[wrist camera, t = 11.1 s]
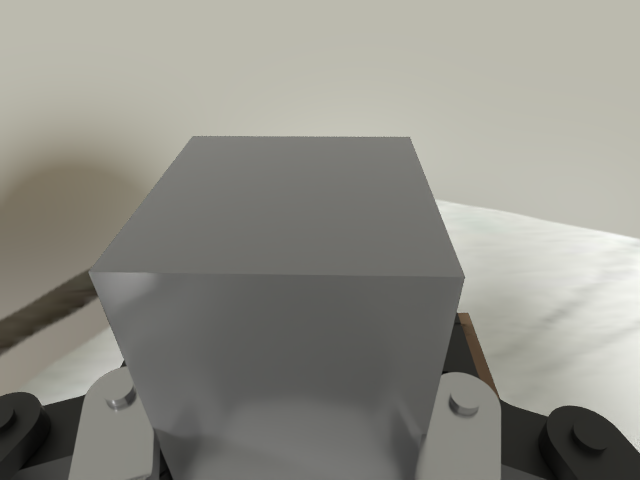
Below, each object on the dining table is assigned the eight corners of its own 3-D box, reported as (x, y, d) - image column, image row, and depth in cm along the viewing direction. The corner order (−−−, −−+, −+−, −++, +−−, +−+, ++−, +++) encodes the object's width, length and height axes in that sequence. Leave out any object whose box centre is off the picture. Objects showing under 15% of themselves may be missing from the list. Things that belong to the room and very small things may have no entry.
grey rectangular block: (219, 591, 11) (87, 271, 5) (248, 433, 15) (192, 136, 9) (387, 598, 11) (465, 277, 5) (374, 436, 15) (409, 137, 9)
